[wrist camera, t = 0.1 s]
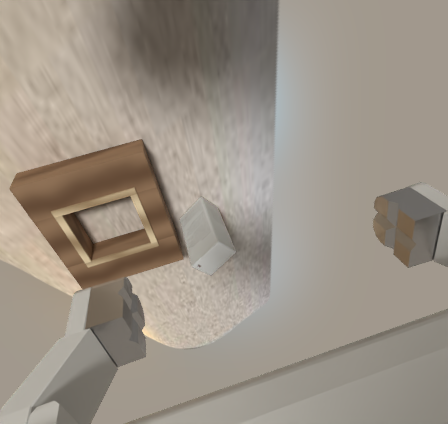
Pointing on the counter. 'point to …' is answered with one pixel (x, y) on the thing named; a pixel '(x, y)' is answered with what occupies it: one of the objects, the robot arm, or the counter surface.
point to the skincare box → (206, 237)
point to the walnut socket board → (92, 196)
